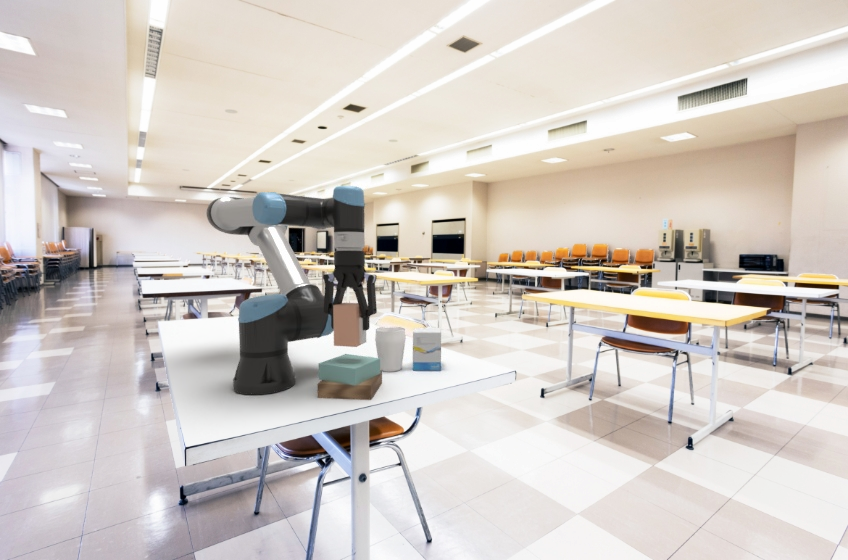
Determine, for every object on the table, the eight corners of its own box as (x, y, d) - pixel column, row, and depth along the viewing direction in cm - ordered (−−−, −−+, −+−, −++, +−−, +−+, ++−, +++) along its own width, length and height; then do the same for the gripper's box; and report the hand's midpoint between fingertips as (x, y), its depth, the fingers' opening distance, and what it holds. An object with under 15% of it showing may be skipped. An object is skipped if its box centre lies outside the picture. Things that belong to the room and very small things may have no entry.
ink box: (441, 371, 121) (441, 332, 120) (412, 371, 121) (412, 331, 120) (440, 363, 130) (440, 327, 129) (413, 363, 130) (413, 326, 129)
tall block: (333, 345, 101) (333, 305, 100) (344, 340, 107) (344, 302, 106) (356, 347, 99) (355, 305, 99) (366, 342, 105) (365, 303, 105)
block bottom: (317, 400, 98) (317, 383, 98) (334, 383, 111) (334, 368, 111) (371, 402, 97) (371, 385, 97) (382, 384, 110) (381, 370, 109)
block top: (318, 379, 101) (318, 363, 101) (345, 368, 111) (345, 353, 111) (355, 385, 96) (355, 368, 96) (380, 373, 106) (380, 358, 106)
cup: (401, 374, 118) (401, 332, 117) (371, 372, 120) (371, 331, 119) (408, 365, 127) (408, 327, 126) (380, 364, 129) (380, 326, 128)
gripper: (307, 249, 101) (308, 343, 102) (379, 249, 96) (380, 347, 97) (322, 250, 108) (324, 337, 109) (390, 250, 103) (391, 341, 104)
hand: (350, 342), depth 103 cm, fingers closed on tall block, 6 cm apart
